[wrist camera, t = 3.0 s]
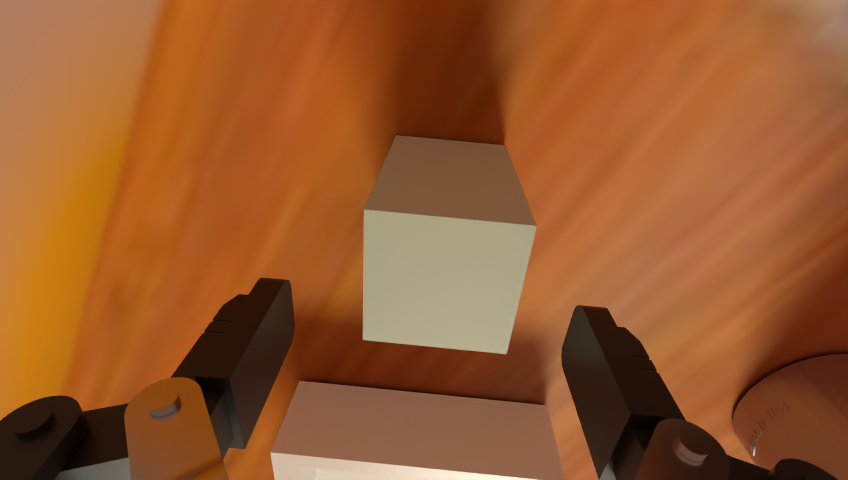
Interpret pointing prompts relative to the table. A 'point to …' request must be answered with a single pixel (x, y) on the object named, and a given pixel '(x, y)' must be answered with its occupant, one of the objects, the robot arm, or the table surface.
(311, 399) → the serving bin
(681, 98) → the table surface
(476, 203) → the cream block
